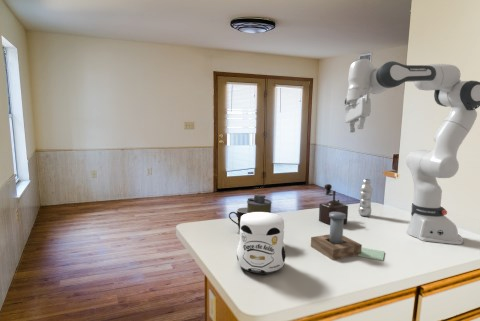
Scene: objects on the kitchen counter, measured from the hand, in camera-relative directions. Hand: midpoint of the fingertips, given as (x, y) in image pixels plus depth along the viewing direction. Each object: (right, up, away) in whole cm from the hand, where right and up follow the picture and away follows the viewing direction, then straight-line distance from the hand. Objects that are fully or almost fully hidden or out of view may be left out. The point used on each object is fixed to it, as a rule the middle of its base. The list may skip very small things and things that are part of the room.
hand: (356, 130), depth 141 cm
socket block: (-10, -49, -3) cm, 50 cm away
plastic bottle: (+20, -43, +45) cm, 66 cm away
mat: (+4, -50, -6) cm, 50 cm away
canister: (-41, -47, +6) cm, 62 cm away
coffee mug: (-47, -45, +18) cm, 68 cm away
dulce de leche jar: (-41, -51, -19) cm, 68 cm away
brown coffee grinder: (-2, -44, +35) cm, 56 cm away
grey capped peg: (-10, -49, -3) cm, 50 cm away
